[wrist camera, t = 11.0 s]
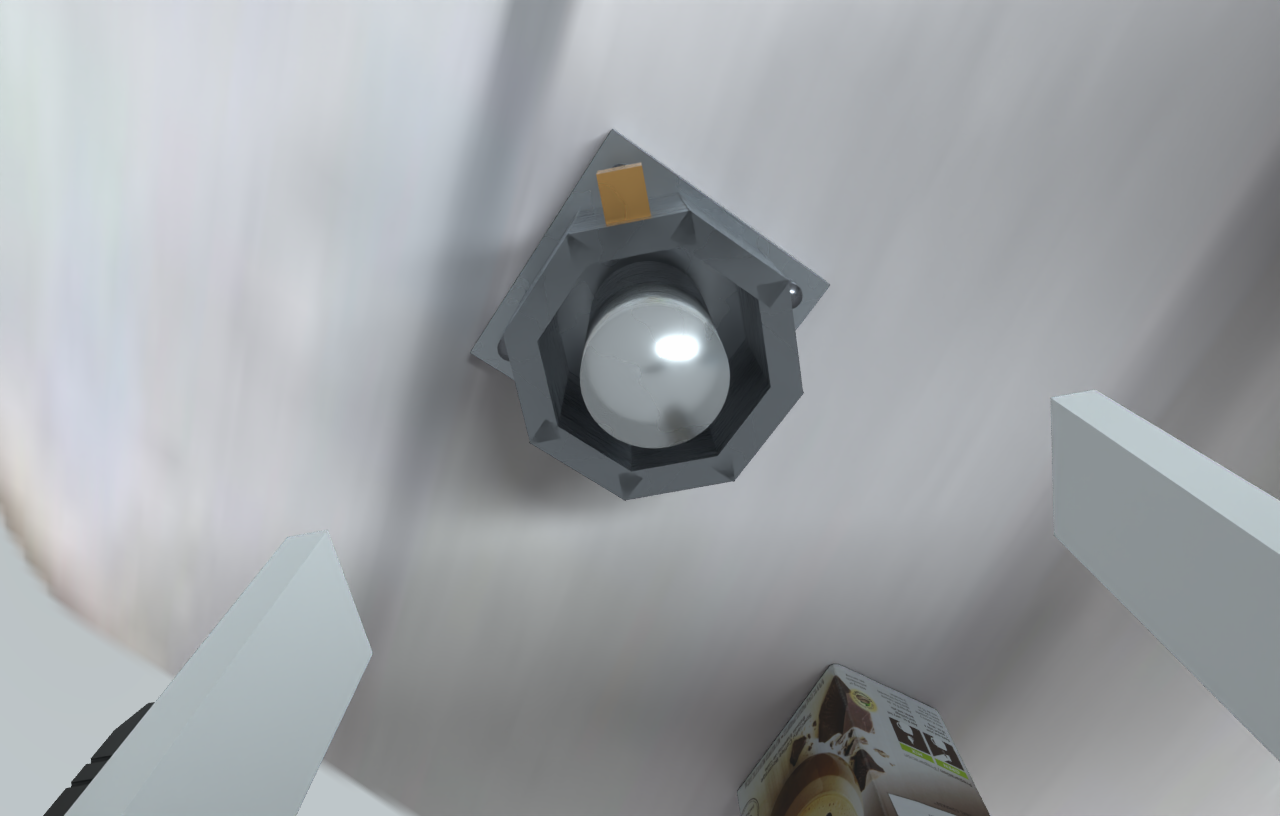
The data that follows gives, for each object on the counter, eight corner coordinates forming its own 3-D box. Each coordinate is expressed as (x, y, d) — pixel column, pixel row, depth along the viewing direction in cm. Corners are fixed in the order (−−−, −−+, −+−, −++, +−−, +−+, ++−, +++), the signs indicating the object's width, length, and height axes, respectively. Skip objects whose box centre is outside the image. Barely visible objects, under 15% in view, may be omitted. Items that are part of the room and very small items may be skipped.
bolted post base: (824, 279, 32) (890, 335, 24) (677, 472, 35) (693, 580, 27) (612, 128, 30) (607, 134, 22) (474, 345, 33) (426, 421, 25)
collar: (781, 406, 33) (813, 467, 27) (560, 446, 33) (547, 514, 28) (744, 135, 29) (772, 141, 24) (497, 183, 30) (468, 200, 24)
